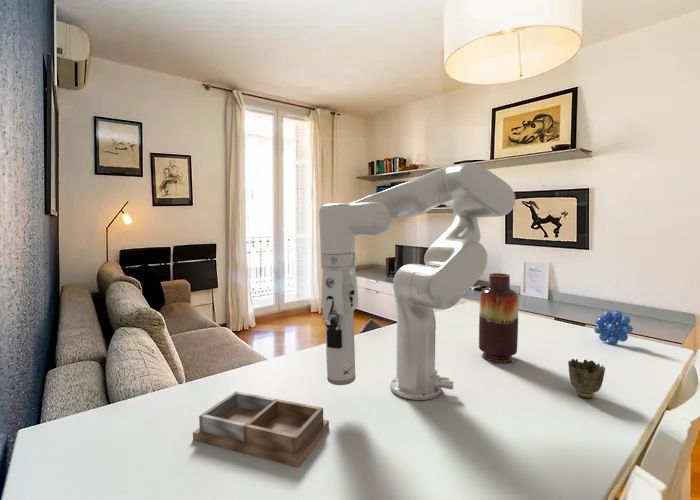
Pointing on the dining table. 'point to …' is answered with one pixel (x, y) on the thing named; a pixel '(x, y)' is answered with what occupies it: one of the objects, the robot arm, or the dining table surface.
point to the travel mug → (342, 352)
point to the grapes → (613, 327)
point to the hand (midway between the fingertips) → (340, 341)
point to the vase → (498, 320)
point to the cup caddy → (263, 427)
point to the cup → (586, 377)
